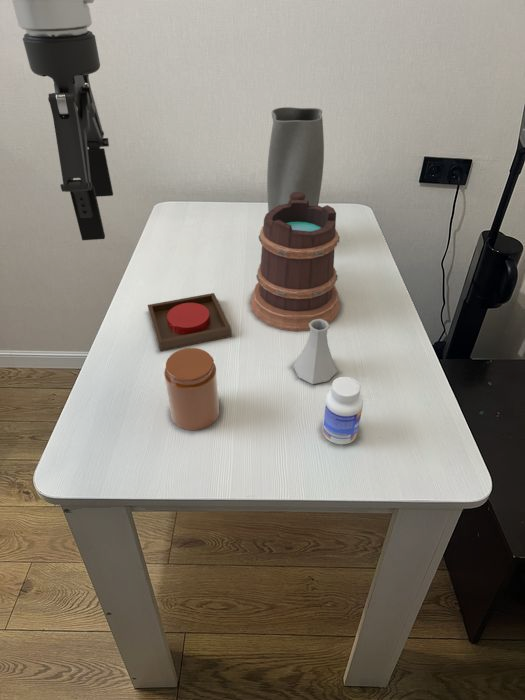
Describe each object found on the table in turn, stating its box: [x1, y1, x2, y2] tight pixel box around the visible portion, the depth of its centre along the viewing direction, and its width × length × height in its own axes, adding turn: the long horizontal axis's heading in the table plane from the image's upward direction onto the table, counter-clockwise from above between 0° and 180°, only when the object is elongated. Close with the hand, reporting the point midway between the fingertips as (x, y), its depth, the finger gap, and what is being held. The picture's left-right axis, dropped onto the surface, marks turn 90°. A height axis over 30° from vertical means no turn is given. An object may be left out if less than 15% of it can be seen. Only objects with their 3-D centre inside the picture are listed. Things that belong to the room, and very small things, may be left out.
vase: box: [266, 106, 325, 213], centre depth 111 cm, size 12×12×30 cm
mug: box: [249, 192, 341, 332], centre depth 96 cm, size 18×23×20 cm
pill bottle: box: [321, 376, 364, 445], centre depth 72 cm, size 5×5×10 cm
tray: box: [147, 292, 232, 352], centre depth 95 cm, size 14×13×2 cm
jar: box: [163, 347, 220, 431], centre depth 74 cm, size 8×8×10 cm
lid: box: [167, 303, 210, 335], centre depth 95 cm, size 8×8×2 cm
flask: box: [292, 319, 338, 385], centre depth 82 cm, size 7×7×10 cm
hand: (99, 215), depth 67 cm, fingers open, 13 cm apart
